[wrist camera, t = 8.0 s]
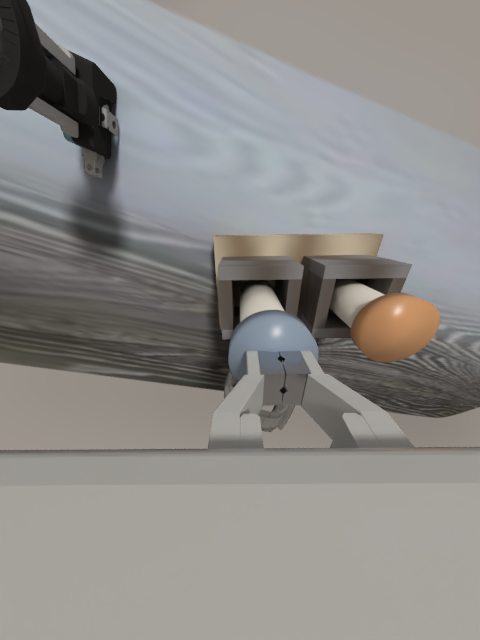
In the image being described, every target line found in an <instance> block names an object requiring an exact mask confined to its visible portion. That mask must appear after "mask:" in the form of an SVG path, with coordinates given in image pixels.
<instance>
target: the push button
mask: <svg viewBox="0 0 480 640" xmlns="http://www.w3.org/2000/svg"><path fill="white" fill-rule="evenodd" d="M111 102H113V103H116V88H115V86H114V84H113V83H112V82H111V81H110V80H109V79H108V78H107V76H106V75H105V74H104V73H103V72H102V71H101V70H100V68H99V67H98V66H97V65H96V64H95V63H94V62H91V61H89V60H87V59H85V58H83V57H81V56H79V55H77V54H75V53H72V52H70V51H68V50H67V49H65V48H63V47H61V46H59V45H56V44H55V43H54V42H53V41H52V40H51V39H50V38H49V37H48V36H47V35H46V34H45V33H44V32H43V31H42V30H41V29H40V28H39V27H38V26H37V25H36V24H35V23H34V19H33V16H32V13H31V10H30V7H29V5H28V3H27V1H26V0H0V107H1V108H3V109H5V110H26V109H27V108H30V109H32V110H34V111H35V112H37V113H39V114H41V115H43V116H44V117H46V118H48V119H50V120H51V121H53V122H55V123H57V124H59V125H60V127H61V130H62V131H63V134H64V137H65V139H66V140H68V141H70V142H72V143H74V144H76V145H78V146H80V147H82V156H84V168H85V173H87V174H90V175H92V176H96V177H98V178H101V179H102V164H103V165H104V157H106V158H108V159H109V158H110V157H111V132H112V133H113V134H115V135H116V136H117V135H118V119H117V118H116V117H115V116H114V115H113V114H112V113H111ZM113 121H114V122H115V129H114V128H113V125H112V122H113ZM89 164H90V165H91V166H92V170H89V169H88V167H87V166H88V165H89ZM95 168H98V169H99V171H100V172H99V173H97V172H96V171H95Z"/></svg>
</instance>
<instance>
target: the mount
mask: <svg viewBox="0 0 480 640" xmlns="http://www.w3.org/2000/svg"><path fill="white" fill-rule="evenodd" d="M382 238H383V234H305V235H225V236H214V237H213V241H214V255H215V269H216V282H217V296H218V310H219V324H220V329H222V339H230V338H231V335H232V333H233V331H234V329H235V328H236V326H237V325H238V324H239V323H240V291H241V289H242V287H243V286H244V284H246V283H247V282H248V281H251V280H264V281H266V282H268V283H269V284H270V285H271V287H272V289H273V291H274V293H275V294H276V296H277V298H278V300H279V302H280V304H281V306H282V307H283V309H284V311H285V312H289V313H291V314H293V315H295V316H296V317H298V318H299V319H300V320H301V321H302V322H303V323H304V324H305V326H306V327H307V329H308V330H309V332H310V333H311V335H312V336H313V338H351V328H350V327H349V326H348V325H347V324H346V323H345V322H344V321H343V320H341V319H340V318H339V317H338V316H337V315H336V314H335V313H334V312H333V311H332V310H331V309H329V307H330V302H331V298H332V294H333V290H334V285H335V281H336V279H353V280H355V281H357V282H359V283H361V284H363V285H365V286H367V287H370V288H372V289H374V290H376V291H378V292H380V293H382V294H384V295H386V294H390V293H400V292H401V290H402V287H403V285H404V283H405V280H406V278H407V275H408V273H409V271H410V268H411V266H412V264H407V263H403V262H398V261H394V260H390V259H385V258H381V257H377V253H378V250H379V247H380V244H381V241H382Z"/></svg>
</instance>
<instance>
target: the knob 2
mask: <svg viewBox="0 0 480 640" xmlns="http://www.w3.org/2000/svg"><path fill="white" fill-rule="evenodd" d="M329 309H331V310H332V311H333V312H334V313H335V314H336V315H337V316H338V317H339V318H340V319H341V320H343V321H344V322H345V323H346V324H347V325H348V326H349V327H350V328H351V338H352V340H353V342H354V344H355V345H356V346H357V347H358V348H359V349H360V350H361V351H362V352H363V353H364V354H365V355H366V356H367V357H368V358H370V359H372V360H374V361H378V362H394V361H398V360H402V359H405V358H407V357H409V356H411V355H413V354H415V353H416V352H418V351H419V350H421V349H422V348H423V347H424V346H426V345H427V344H428V343H429V342H430V340H431V339H432V338H433V337H434V335H435V333H436V331H437V329H438V327H439V322H440V316H439V312H438V310H437V309H436V307H435V306H434V305H433V304H431V303H429V302H427V301H424V300H422V299H419V298H417V297H414V296H412V295H409V294H406V293H390V294H386V295H384V294H382V293H380V292H378V291H376V290H374V289H372V288H370V287H367V286H365V285H363V284H361V283H359V282H357V281H355V280H353V279H336V281H335V285H334V290H333V294H332V298H331V302H330V307H329Z"/></svg>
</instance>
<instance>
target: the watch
mask: <svg viewBox="0 0 480 640" xmlns="http://www.w3.org/2000/svg"><path fill="white" fill-rule="evenodd" d="M235 381H236V378H235V377H234V376H233V374H232V372H231V370H230V371H229V373H228V375H227V379H226V382H225V385H224V389H225V391H224V398H226V397H227V395H228V394H229V393H230V392H231V391H232V389H233V386H232V385H233V384H234V382H235ZM294 407H295V405H282V402H281V405H275V406H274V408H273V410H272V412H270V413H269V412H268V411H263V410H260V413H259V415H258V416H259V417H260V422H261V430H262V431H268V432H271V431H273V430H274V429H275V428H276V427H278V428H279V429H280V430H281V429H282V428H283V427H284V425H285V424H286V423H287V421H288V419H289V417H290V415H291V413H292V411H293V409H294Z"/></svg>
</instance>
